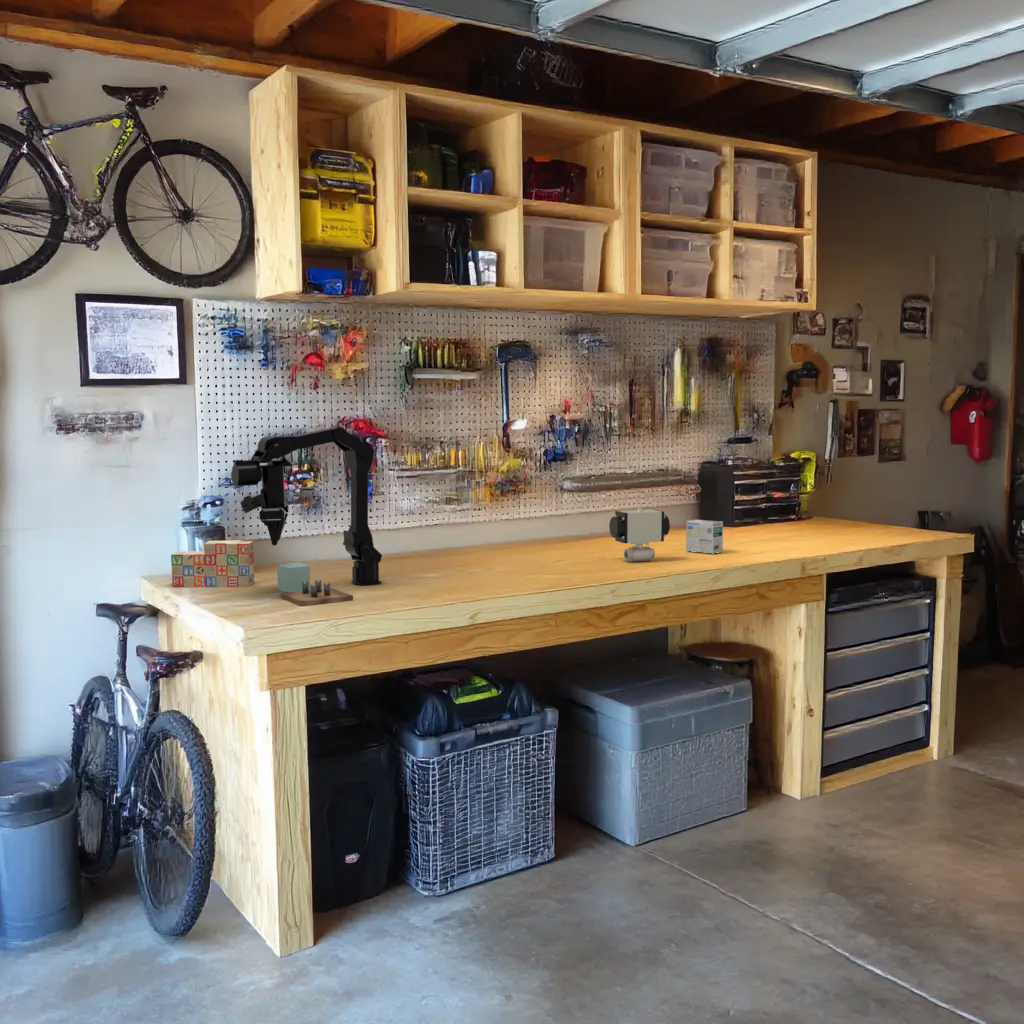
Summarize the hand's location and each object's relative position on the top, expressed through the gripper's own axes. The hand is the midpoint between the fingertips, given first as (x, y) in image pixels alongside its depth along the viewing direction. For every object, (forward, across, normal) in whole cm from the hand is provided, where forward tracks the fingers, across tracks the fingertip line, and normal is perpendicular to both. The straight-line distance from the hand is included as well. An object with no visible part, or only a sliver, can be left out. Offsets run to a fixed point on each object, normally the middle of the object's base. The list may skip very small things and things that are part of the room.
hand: (275, 542), depth 268 cm
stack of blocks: (+14, -15, -19) cm, 28 cm away
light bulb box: (+16, -52, +136) cm, 147 cm away
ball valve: (+16, -37, +109) cm, 117 cm away
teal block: (+14, -3, +4) cm, 14 cm away
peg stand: (+14, +11, +10) cm, 20 cm away
